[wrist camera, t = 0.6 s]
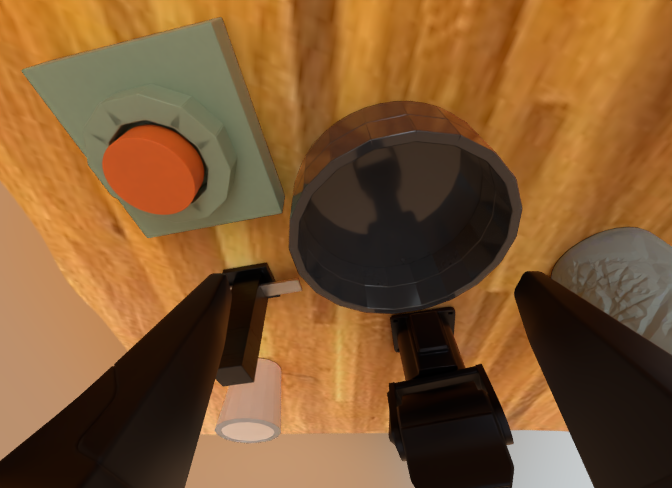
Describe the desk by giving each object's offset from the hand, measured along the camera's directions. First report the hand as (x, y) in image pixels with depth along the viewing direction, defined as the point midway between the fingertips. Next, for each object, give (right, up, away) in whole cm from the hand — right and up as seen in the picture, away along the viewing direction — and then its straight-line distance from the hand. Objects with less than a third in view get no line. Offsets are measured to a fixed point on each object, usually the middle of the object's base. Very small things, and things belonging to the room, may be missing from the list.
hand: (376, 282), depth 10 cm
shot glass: (-11, -14, +30) cm, 34 cm away
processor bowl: (+3, +4, +14) cm, 15 cm away
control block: (-11, +8, +11) cm, 17 cm away
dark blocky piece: (-9, -2, +19) cm, 21 cm away
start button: (-11, +6, +8) cm, 15 cm away
